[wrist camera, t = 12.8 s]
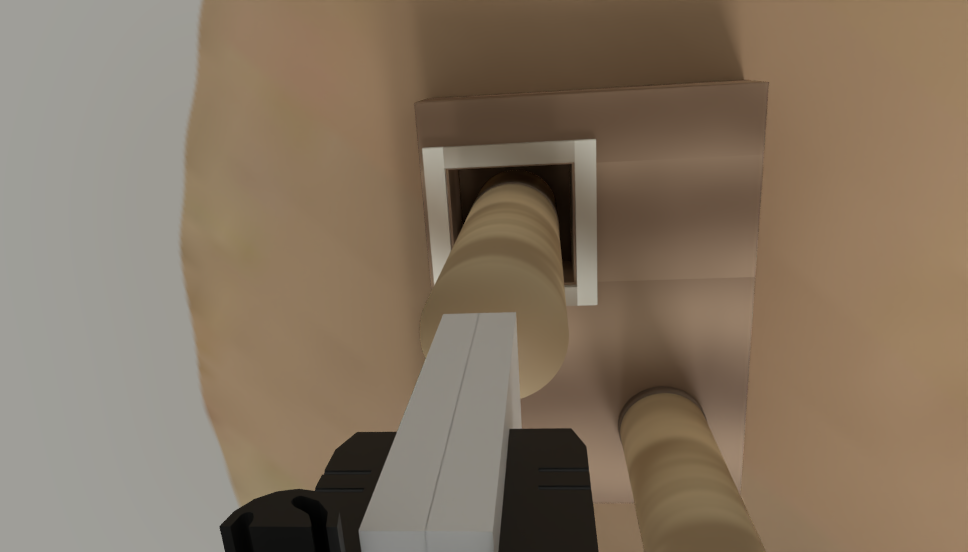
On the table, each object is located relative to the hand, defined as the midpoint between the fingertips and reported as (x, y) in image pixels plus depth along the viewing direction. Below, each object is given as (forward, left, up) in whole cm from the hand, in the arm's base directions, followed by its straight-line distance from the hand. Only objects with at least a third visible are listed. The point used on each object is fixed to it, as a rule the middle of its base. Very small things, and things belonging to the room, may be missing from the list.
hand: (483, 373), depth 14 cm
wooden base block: (-4, -3, -16) cm, 17 cm away
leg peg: (0, 0, -16) cm, 16 cm away
